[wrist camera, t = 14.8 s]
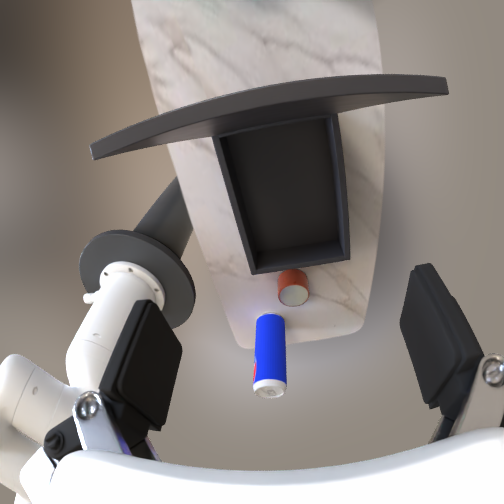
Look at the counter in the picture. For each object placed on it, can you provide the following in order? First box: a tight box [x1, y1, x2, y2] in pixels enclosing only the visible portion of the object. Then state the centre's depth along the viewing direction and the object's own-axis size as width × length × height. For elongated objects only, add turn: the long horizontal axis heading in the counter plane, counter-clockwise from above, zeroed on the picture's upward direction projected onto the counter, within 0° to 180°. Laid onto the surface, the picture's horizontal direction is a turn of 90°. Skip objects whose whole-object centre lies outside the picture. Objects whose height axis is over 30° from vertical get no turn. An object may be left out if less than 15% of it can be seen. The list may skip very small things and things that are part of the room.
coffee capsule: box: [278, 269, 309, 307], centre depth 44 cm, size 5×5×4 cm
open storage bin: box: [211, 114, 350, 275], centre depth 34 cm, size 20×14×5 cm
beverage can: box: [253, 313, 287, 398], centre depth 45 cm, size 5×5×15 cm
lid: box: [89, 74, 449, 160], centre depth 17 cm, size 20×14×1 cm
